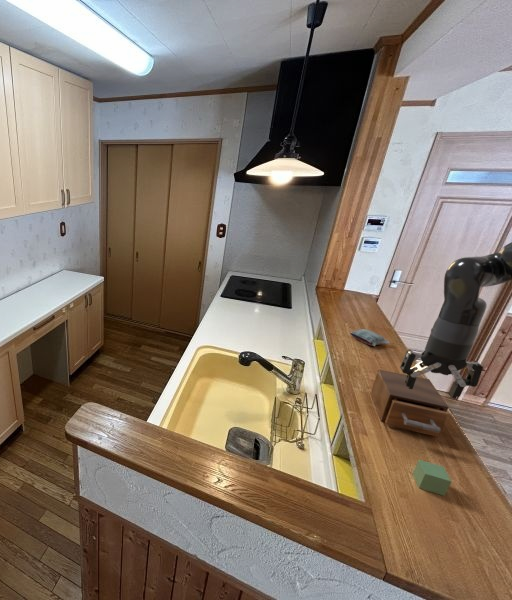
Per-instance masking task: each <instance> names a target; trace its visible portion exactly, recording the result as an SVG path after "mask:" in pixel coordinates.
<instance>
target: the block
mask: <svg viewBox="0 0 512 600" xmlns="http://www.w3.org/2000/svg"><path fill="white" fill-rule="evenodd" d="M412 474H413V477H414V480H415V482H416V483H417V484H416V485H417V487H418V489H420V490H423V491H428V492H430V493H433V494H434V493H435V494H437V495H440V496H443V497H445V496H446V494H447V492H448V490H449V487H450V485H451V484H452V479H451V477H450V476H449V473H448V472H447V469H445V467H444V465H440V464H436V463H433V462H429V461H426V460H421V459H418V460H417V463H416V464H415V467H414V470H413V472H412Z"/></svg>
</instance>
